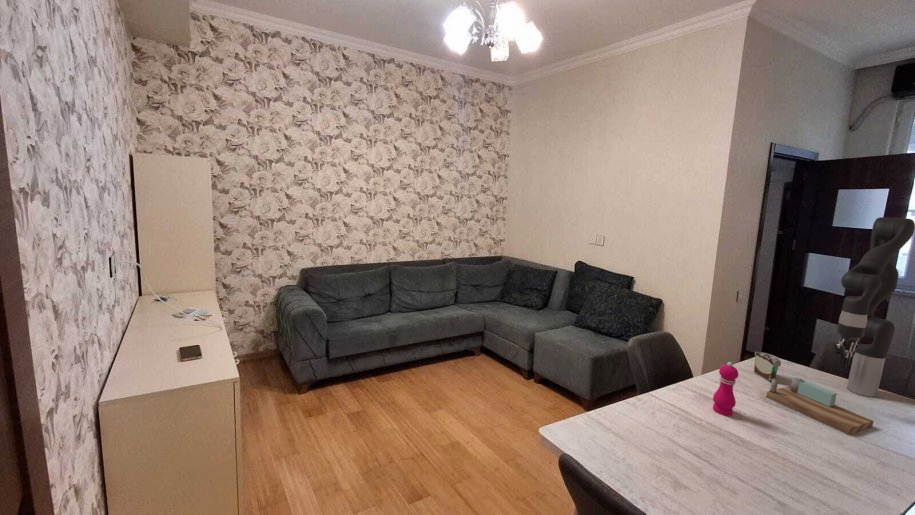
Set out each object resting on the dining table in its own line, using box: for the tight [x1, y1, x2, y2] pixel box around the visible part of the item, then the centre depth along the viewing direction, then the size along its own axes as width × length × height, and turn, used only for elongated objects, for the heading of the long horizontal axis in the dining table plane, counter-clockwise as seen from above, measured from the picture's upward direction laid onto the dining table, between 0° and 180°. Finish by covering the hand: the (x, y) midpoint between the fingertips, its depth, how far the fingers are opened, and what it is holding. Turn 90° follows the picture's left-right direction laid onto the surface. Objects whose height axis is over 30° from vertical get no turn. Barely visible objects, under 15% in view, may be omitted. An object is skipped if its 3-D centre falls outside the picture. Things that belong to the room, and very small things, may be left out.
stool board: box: [765, 379, 875, 436], centre depth 154 cm, size 15×27×8 cm, turn 21°
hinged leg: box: [790, 377, 838, 407], centre depth 159 cm, size 14×4×5 cm, turn 21°
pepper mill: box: [712, 361, 739, 417], centre depth 150 cm, size 7×7×20 cm
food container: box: [753, 351, 782, 383], centre depth 182 cm, size 12×6×10 cm, turn 179°
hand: (843, 365), depth 157 cm, fingers closed
